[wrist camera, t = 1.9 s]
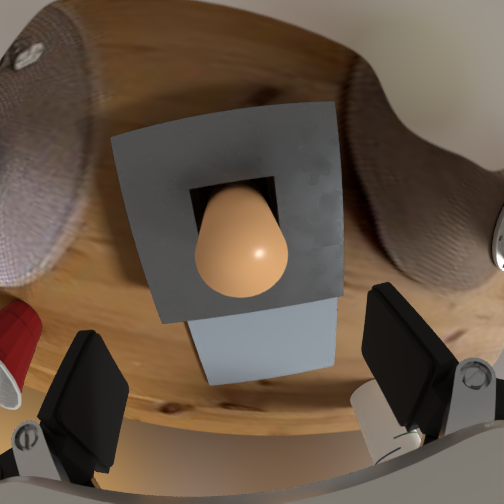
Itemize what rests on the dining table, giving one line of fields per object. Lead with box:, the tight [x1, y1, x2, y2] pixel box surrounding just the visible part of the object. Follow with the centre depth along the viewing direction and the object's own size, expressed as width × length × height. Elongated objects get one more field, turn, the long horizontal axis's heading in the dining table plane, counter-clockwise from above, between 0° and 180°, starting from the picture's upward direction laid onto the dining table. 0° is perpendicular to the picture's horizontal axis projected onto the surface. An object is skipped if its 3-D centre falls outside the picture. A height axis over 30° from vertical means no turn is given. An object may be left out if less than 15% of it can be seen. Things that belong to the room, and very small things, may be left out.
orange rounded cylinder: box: [195, 179, 288, 298], centre depth 21 cm, size 5×5×11 cm
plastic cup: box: [0, 300, 42, 410], centre depth 23 cm, size 11×11×12 cm
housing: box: [110, 101, 344, 324], centre depth 23 cm, size 16×16×5 cm
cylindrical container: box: [350, 379, 421, 465], centre depth 28 cm, size 7×7×25 cm
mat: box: [187, 297, 337, 386], centre depth 32 cm, size 16×12×1 cm
